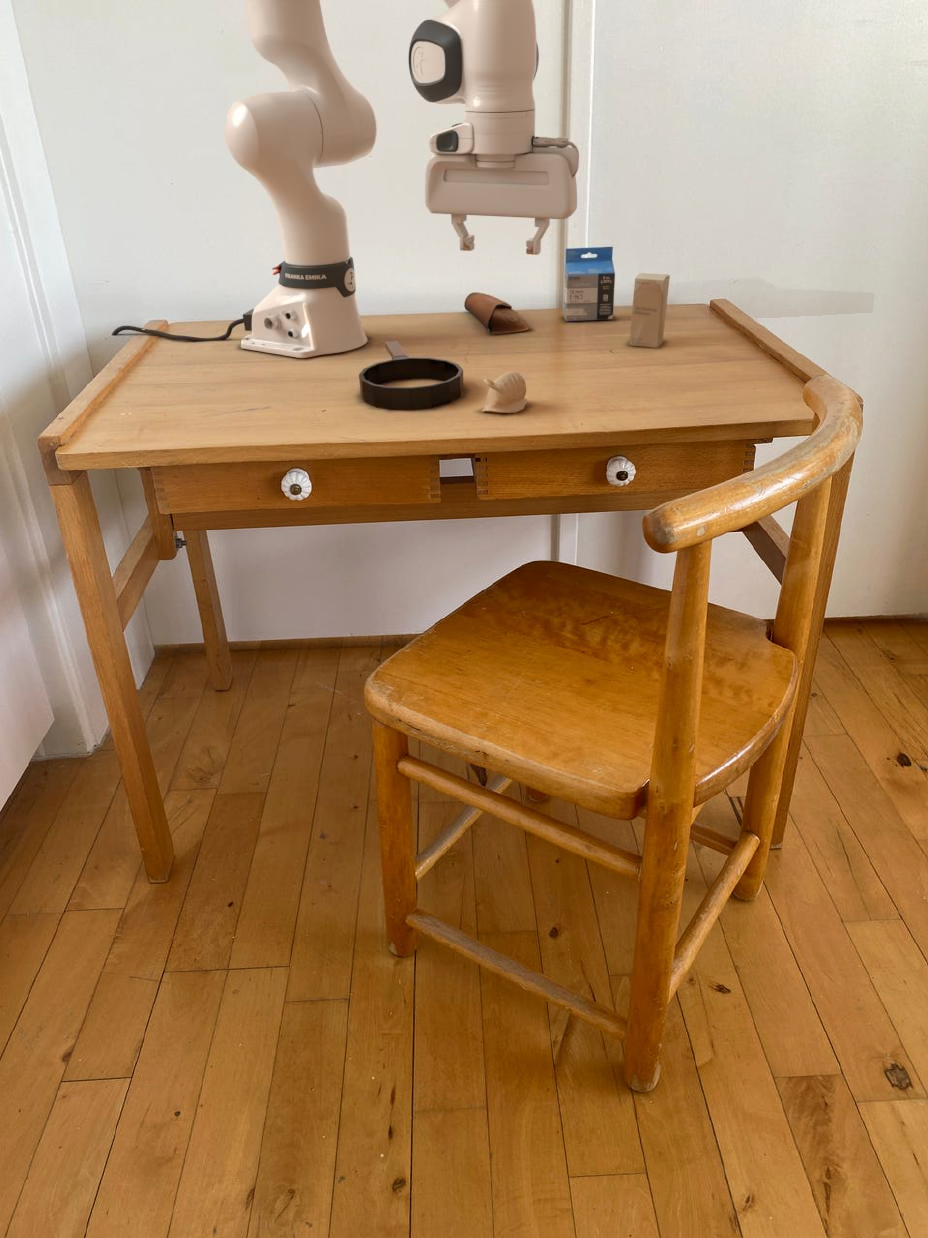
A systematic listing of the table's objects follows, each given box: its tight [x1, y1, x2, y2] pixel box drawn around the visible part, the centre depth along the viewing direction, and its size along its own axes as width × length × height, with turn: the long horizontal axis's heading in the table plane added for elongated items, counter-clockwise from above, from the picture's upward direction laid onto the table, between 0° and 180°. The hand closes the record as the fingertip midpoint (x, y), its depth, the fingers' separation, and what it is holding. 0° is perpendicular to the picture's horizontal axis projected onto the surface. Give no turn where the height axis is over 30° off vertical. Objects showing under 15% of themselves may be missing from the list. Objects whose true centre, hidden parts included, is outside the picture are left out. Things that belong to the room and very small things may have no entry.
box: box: [628, 272, 671, 349], centre depth 154 cm, size 5×4×11 cm
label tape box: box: [563, 246, 616, 322], centre depth 169 cm, size 9×4×12 cm, turn 90°
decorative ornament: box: [481, 370, 528, 414], centre depth 129 cm, size 4×8×5 cm, turn 132°
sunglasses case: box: [463, 291, 530, 335], centre depth 172 cm, size 18×7×7 cm
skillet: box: [358, 340, 465, 411], centre depth 142 cm, size 26×15×3 cm, turn 14°
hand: (499, 251), depth 124 cm, fingers open, 8 cm apart
